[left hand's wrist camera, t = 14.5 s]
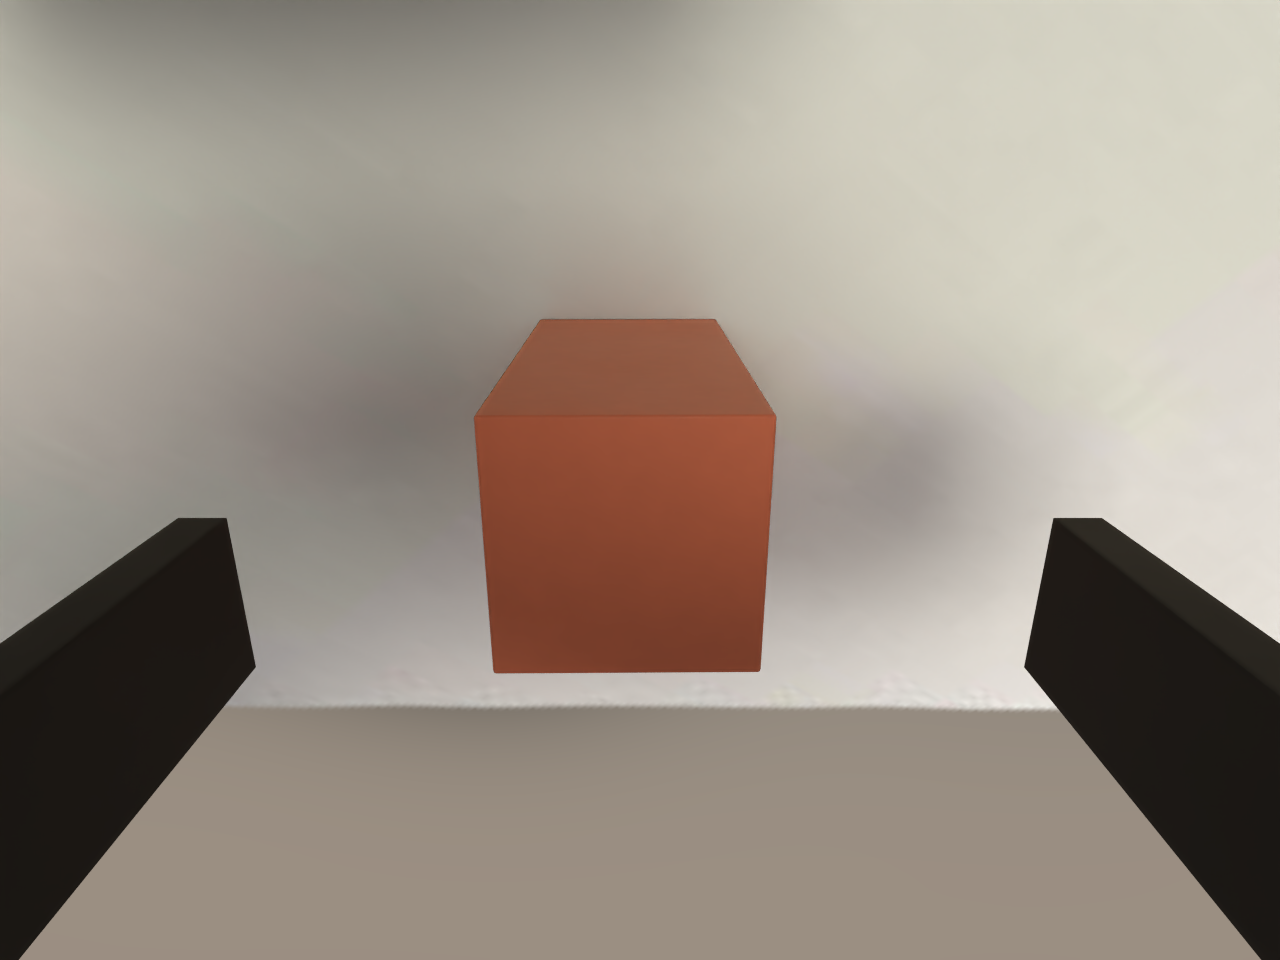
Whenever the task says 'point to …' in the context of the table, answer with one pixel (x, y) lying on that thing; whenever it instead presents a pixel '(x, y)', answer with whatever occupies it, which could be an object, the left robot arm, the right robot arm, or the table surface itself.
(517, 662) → the terracotta block
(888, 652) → the table surface
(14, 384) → the table surface
